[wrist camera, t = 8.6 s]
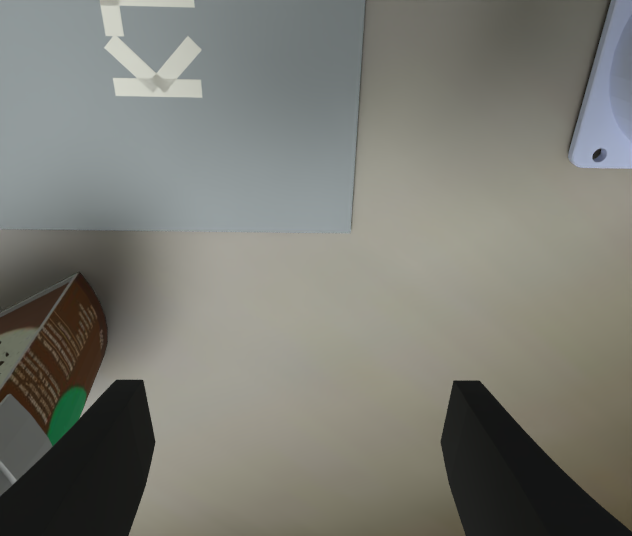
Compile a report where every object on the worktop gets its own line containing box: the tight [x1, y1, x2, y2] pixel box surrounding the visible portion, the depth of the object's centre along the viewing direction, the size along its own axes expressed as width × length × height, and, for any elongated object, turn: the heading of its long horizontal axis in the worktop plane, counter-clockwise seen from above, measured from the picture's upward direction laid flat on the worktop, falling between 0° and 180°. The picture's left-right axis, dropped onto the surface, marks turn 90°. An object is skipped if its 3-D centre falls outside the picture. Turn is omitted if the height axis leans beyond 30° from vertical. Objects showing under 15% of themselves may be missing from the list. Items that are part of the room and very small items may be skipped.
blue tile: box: [0, 0, 365, 233], centre depth 17 cm, size 14×14×1 cm
